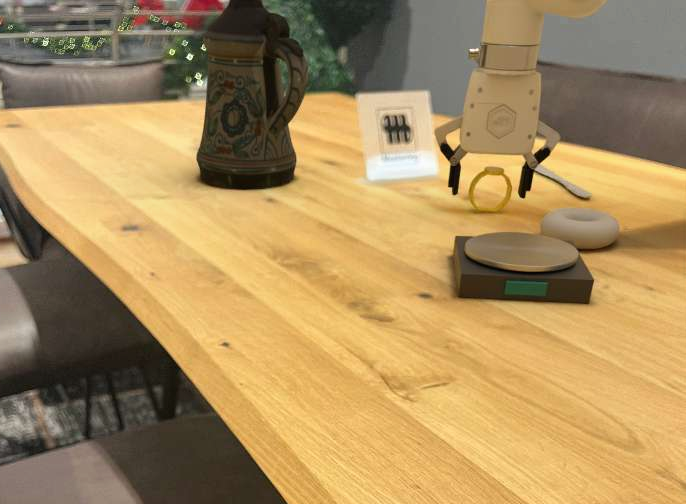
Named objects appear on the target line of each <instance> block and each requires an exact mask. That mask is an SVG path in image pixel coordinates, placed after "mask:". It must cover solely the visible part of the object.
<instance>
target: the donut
mask: <svg viewBox="0 0 686 504" xmlns="http://www.w3.org/2000/svg"><path fill="white" fill-rule="evenodd" d="M539 226H540V227H539V229H540V233H541V235H543V236H548V237H552V238H555V239H559V240H570V241H572V242H573V244H574V245H575V247H576V249H577V250H595V249H596V250H597V249H602V248H604V247H607V246H610V245H611V244H613V243H614V242H615V240H616V239H617V238H618V236H619V235H620V229H621V228H620V224H619V221H618V220H617V219H616V217H614V216H613V215H611V214H609V213H607V212H606V211H605V212H604V211H601V210H597V209H593V208H586V207H562V208H557V209H554V210H551V211H549V212H548V213H546V214H545V215H544V216H543V217H542V219H541V221H540V225H539Z"/></svg>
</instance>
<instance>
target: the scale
mask: <svg viewBox="0 0 686 504" xmlns="http://www.w3.org/2000/svg"><path fill="white" fill-rule="evenodd" d="M475 236H476V235H475ZM475 236H474V235H473V236H472V235H455V236H454V242H453V251H452V260H453V268H454V276H455V282H456V289H457V296H458V298H470V299H471V298H472V299H492V300H493V299H494V300H515V301H532V302H533V301H535V302H553V303H573V304H574V303H575V304H590V300H591V297H592V292H593V288H594V283H595V279H594V277H593V275H592V273H591V271H590V270H589V268H588V267H587V265H586V263H585V261H584V259H583V258H582V256H581V254H580V252H579V251H578V253H579V255H578V260H577V262H576V263H575V264H574V265H572V266H570V267H568V268H564V269H560V270H555V271H545V272H525V271H514V270H506V269H501V268H496V267H492V266H488V265H485V264H482V263H480V262H477V261H475V260H473V259H472V258H470V257H469V256H468V255H467V254H466V253H465V243H466V242H467V241H468V240H469V239H470V238H472V237H475ZM562 241H564V242H566V243H568V244H570V245H572V246H574V247H575V245H574V244H573V242H572V241H570V240H562ZM575 248H576V247H575Z"/></svg>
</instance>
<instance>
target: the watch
mask: <svg viewBox="0 0 686 504" xmlns="http://www.w3.org/2000/svg"><path fill="white" fill-rule="evenodd" d="M488 175H489V176H497V177H498V176H502V177H503V178H504V180H505V183H506V192H505V196H504V198H503V199H502V200H501V202H500V203H499V204H497V205H496V206H494V207H485V206H478V205H477V204H476V202H475V198H474V192H475V187H476V185H477V184H478V183H479V182H480V180H481V179H482V178H484V177H486V176H488ZM512 191H513V186H512V182H511V179H510V177H509V176H508V175H507V174H505V169H504V168H503V167H500V166H493V165H492V166H491V165H490V166H489V165H488V166H485V167H484V170H482V171H481V172H480V171H479V172H478V173H477V174H476V175H475V176H474V178H473V179H472V180H471V182H470V185H469V190H468V194H467V195H468V199H469V202H470V204H471V205H472V206H473V207H474V209H475V210H476V211H477V212H488V213H498V212H500V211H502V210H503V209H504V208H505V207H506V206H507V205H508V203H509V201H510V200H511V197H512Z"/></svg>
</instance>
